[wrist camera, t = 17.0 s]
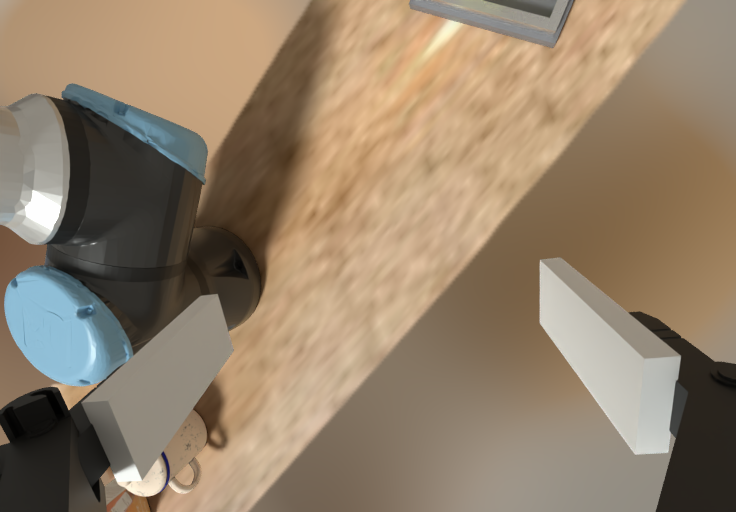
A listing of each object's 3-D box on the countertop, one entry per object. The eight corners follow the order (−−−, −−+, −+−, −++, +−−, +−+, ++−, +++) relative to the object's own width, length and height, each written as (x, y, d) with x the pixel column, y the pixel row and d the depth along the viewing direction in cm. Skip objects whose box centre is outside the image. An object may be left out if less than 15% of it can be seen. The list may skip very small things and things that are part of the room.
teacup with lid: (151, 424, 63) (82, 474, 52) (179, 390, 60) (114, 435, 49) (201, 479, 62) (142, 541, 51) (233, 447, 59) (178, 505, 48)
